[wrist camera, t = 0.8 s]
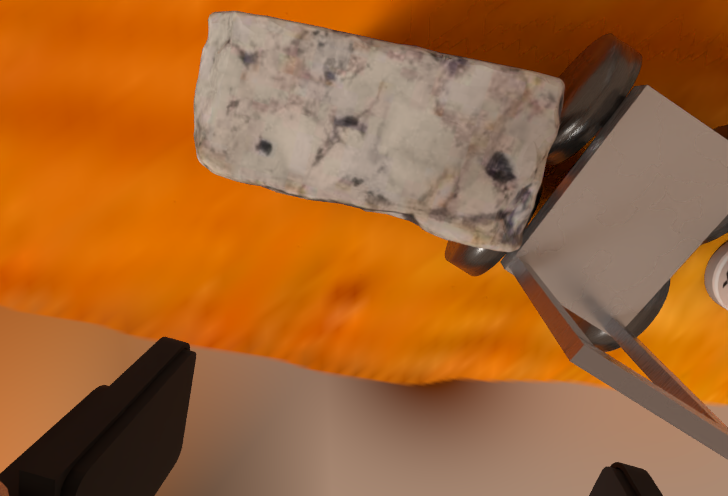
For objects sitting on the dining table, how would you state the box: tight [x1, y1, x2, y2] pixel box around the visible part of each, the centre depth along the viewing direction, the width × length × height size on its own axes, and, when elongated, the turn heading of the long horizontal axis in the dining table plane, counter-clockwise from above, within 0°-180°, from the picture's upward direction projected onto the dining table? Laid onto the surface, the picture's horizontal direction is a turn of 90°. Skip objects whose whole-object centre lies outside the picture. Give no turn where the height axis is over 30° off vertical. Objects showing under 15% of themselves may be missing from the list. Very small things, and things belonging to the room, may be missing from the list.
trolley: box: [445, 34, 728, 459], centre depth 25 cm, size 17×12×20 cm
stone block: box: [194, 11, 565, 252], centre depth 25 cm, size 13×7×20 cm, turn 83°
